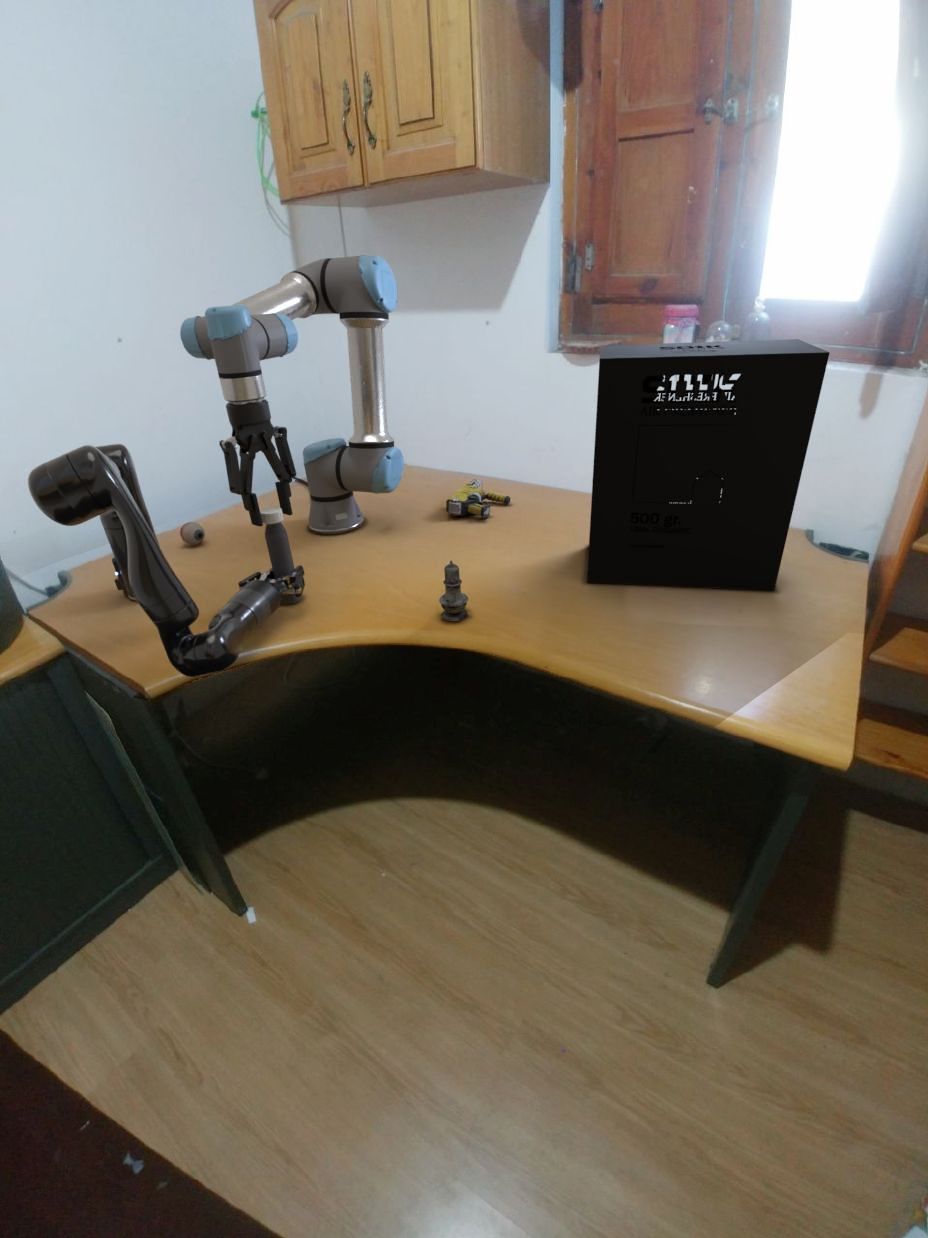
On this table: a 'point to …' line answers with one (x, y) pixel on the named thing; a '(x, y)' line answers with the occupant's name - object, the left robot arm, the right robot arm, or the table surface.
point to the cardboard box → (699, 461)
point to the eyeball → (192, 533)
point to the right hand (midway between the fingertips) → (272, 519)
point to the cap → (271, 515)
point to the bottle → (280, 555)
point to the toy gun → (473, 500)
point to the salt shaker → (453, 595)
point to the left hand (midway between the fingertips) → (290, 568)
